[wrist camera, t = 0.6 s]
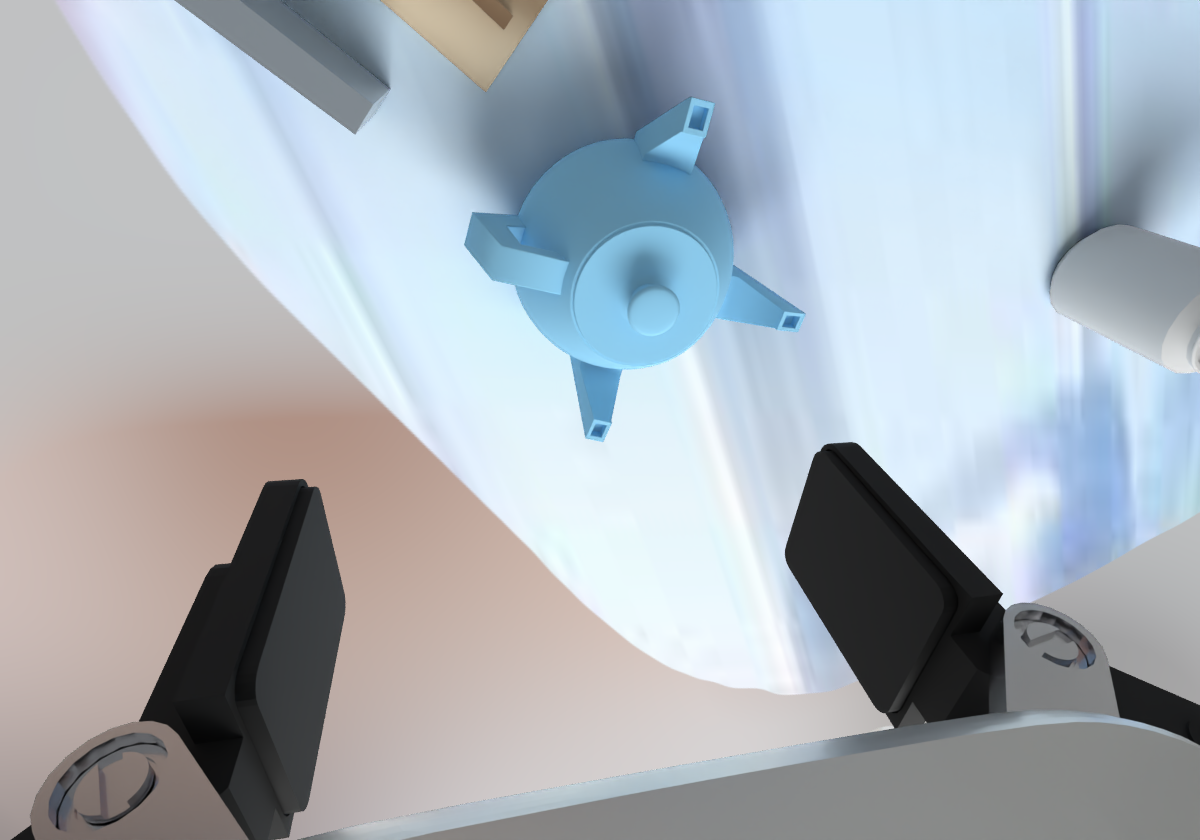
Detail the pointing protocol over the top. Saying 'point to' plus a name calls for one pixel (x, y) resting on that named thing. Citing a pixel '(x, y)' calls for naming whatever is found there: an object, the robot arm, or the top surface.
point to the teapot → (625, 257)
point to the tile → (296, 56)
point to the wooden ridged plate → (471, 30)
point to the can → (1135, 293)
